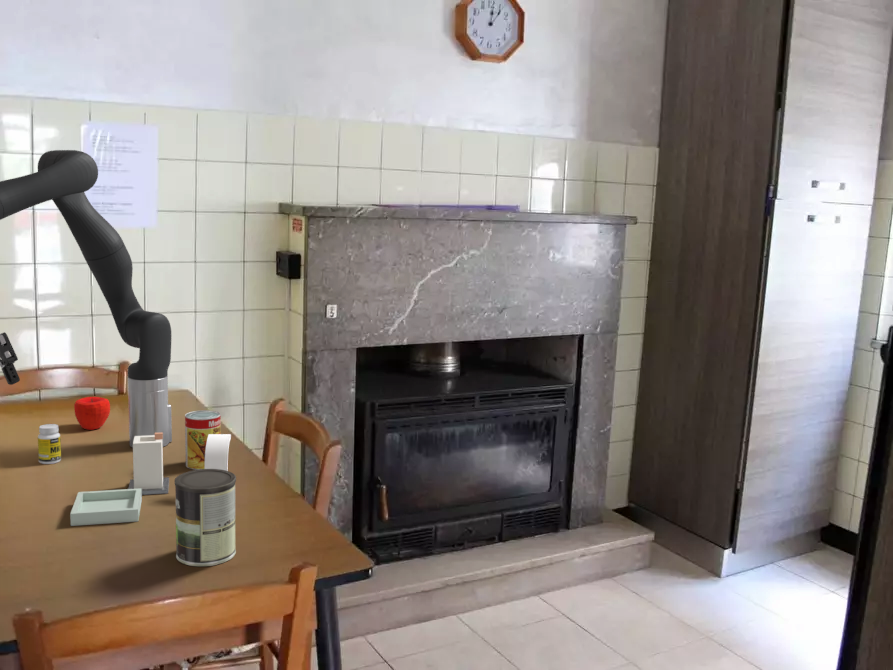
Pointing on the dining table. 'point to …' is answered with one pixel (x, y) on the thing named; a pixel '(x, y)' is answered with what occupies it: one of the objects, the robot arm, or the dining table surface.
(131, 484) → the post
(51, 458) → the supplement bottle
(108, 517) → the tray
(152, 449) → the open-top white box
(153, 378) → the robot arm
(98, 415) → the apple
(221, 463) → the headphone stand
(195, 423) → the canned food
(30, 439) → the dining table surface
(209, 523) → the coffee can
